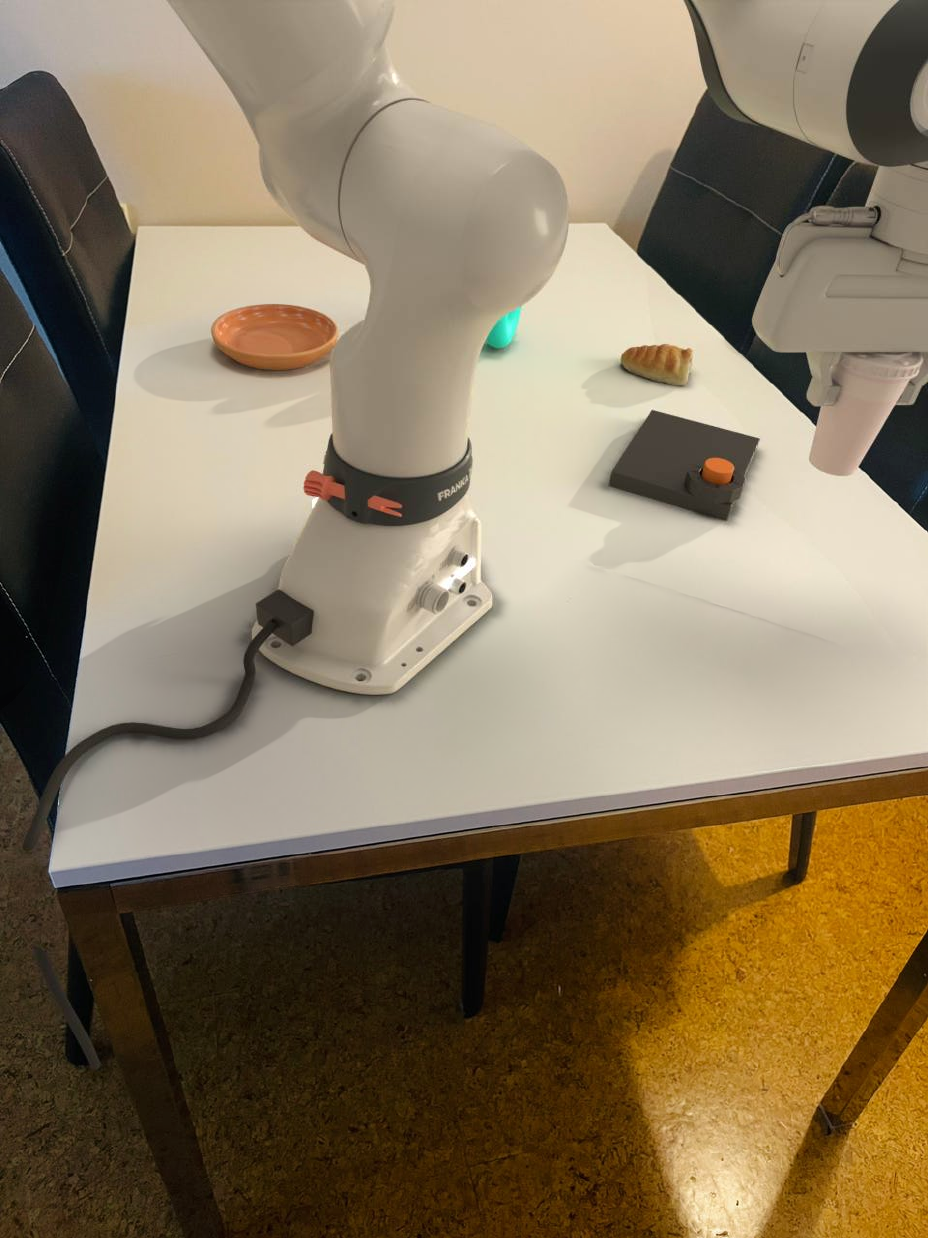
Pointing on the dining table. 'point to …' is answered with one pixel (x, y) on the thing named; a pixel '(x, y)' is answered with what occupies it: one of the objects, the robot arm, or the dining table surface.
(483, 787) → the dining table surface
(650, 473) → the scale
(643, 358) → the pastry
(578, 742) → the dining table surface
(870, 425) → the smoothie
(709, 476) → the button
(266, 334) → the saucer
